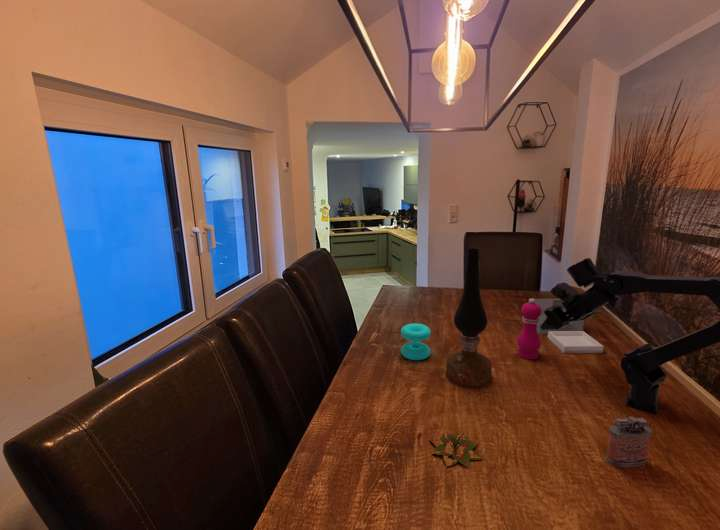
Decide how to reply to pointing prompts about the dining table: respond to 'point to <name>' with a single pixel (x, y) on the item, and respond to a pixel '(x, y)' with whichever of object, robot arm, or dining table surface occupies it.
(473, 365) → the oil lamp
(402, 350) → the turquoise spool
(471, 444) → the green leafy cluster
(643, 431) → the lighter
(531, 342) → the pepper mill
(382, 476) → the dining table surface
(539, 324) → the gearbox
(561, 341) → the tray
